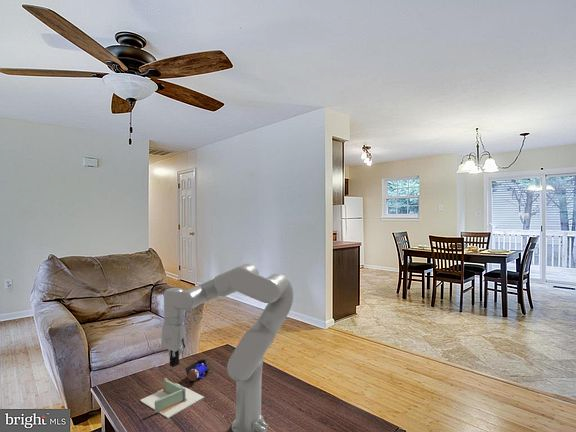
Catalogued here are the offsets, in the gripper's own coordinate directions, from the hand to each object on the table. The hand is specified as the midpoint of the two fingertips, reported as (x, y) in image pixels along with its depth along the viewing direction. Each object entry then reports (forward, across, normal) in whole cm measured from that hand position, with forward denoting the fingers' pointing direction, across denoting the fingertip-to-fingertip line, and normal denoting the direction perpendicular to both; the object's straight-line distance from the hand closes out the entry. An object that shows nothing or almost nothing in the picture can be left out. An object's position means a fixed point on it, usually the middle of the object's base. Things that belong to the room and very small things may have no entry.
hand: (174, 365), depth 131 cm
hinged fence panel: (+19, -6, +2) cm, 20 cm away
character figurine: (+20, -16, +25) cm, 36 cm away
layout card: (+20, -10, +6) cm, 23 cm away
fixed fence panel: (+20, -12, +8) cm, 25 cm away
